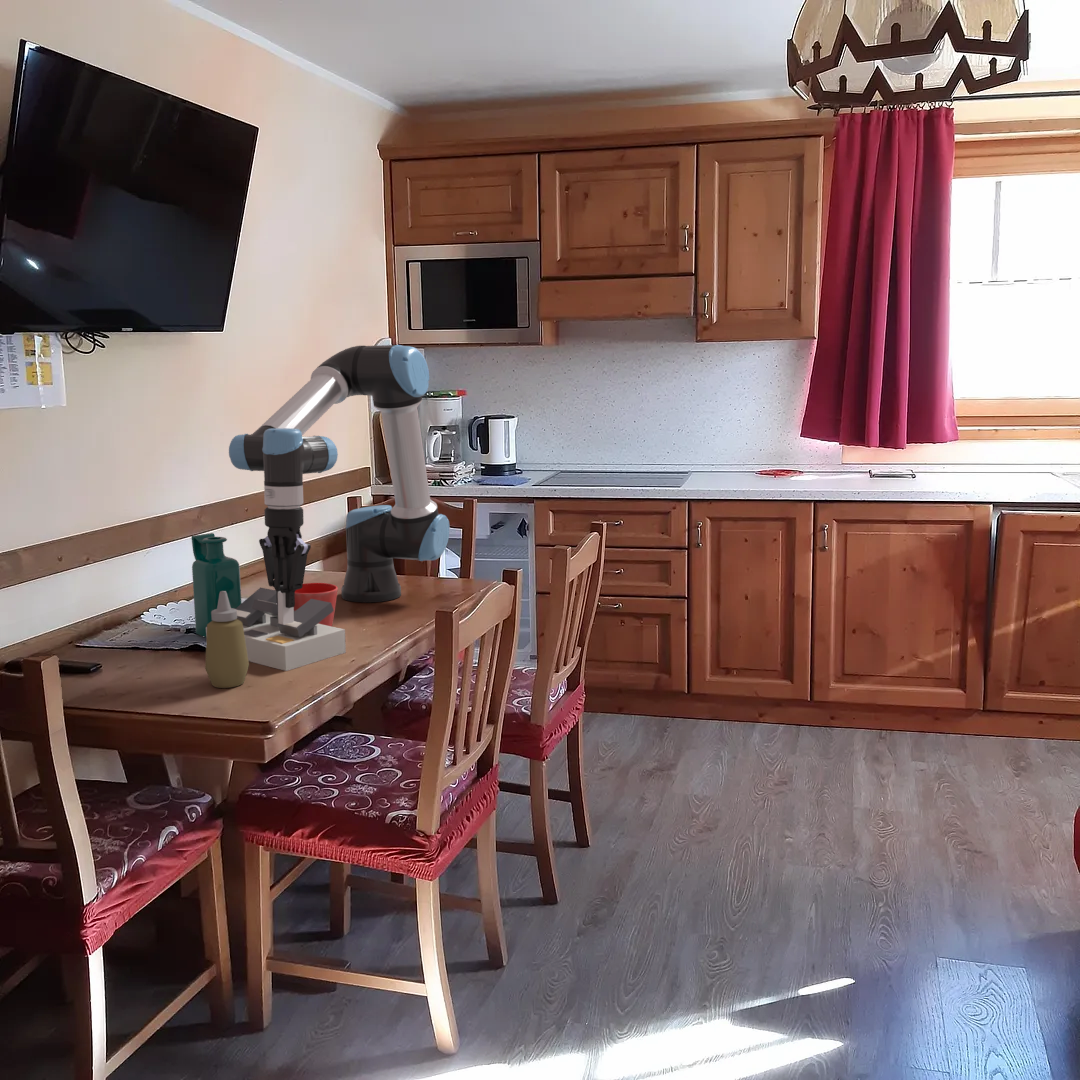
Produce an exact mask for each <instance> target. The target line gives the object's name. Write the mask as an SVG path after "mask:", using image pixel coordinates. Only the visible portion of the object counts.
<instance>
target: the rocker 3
mask: <svg viewBox="0 0 1080 1080" xmlns="http://www.w3.org/2000/svg"><path fill="white" fill-rule="evenodd" d="M333 611H334V609H333V607H332V604H331V603H330V602H325V601H320V600H315V599H310V600H309V601H308V602H306V603H305V604H304V605H302V606H301V607H300V608H298V609H297V610H296V611H295V612H294V622H292V623H288V624H277V625H278V628H279V631H280V633H283V634H288V635H292V636H296V637H301V636H303V635H304V634H305V633H306V632H308V631H309V630H310V629H312V628H313V627H314V626H315V625H317V624H318V623H319V622H320V621H322V620H323V619H324V618H325V617H327V616H328V615H329V614H331V613H332V612H333Z"/></svg>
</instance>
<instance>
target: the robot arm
mask: <svg viewBox="0 0 1080 1080" xmlns="http://www.w3.org/2000/svg"><path fill="white" fill-rule="evenodd" d="M427 363H428V362H427V361H426V358H425V357H424V355H423V353H422V352H420V351H419V349H418V348H417V347H415V346H414V347H413V346H409V345H401V344H395V345H394V344H392V345H391V344H387V345H385V344H384V345H356V346H351V347H348V348H345V349H342V350H341V351H339V352H337V353H335V354H334V355H332V356H330V357H328V359H326V360H324V361H323V362H322V363H320V364H319V365H317V367H316V368H315V369H313V371H312V372H311V375H310V380H309V381H307V382H306V384H304V385H303V386H302V387H301V388H300V389H299V390H298V391H296V393H295V394H293V395H292V397H290V398H289V399H288V400H287V401H286V402H285V403H284V404H283V405H282V406H281V407H279V408H278V409H277V411H275V412H274V413H273V414H272V415H271V416H270V417H269V418H267V420H266V421H264V422H263V423H262V424H261V426H259V427H258V428H257V429H256V430H255V431H254V432H253V433H251V434H248V433H244V434H238V435H235V436H234V437H233V438H232V439H231V441H230V443H229V446H228V456H229V458H230V462H231V464H232V465H233V466H234V468H236V469H238V470H241V471H242V470H243V471H250V472H255V471H256V472H258V471H259V472H263V478H264V480H263V485H264V486H263V490H264V492H263V493H264V495H263V496H264V497H263V498H264V505H265V506H267V507H265V508H264V525H265V526H266V527H267V528H268V530H267V532H266V533H267V535H266V536H265V537H264V538H259V540H258V543H259V545H260V548H261V550H262V555H263V560H264V565H265V572H266V576H267V583H268V586H269V587H272V588H274V590H276V596H277V603H276V604H277V606H278V623H279V624H288V623H292V622H294V606H295V591H296V590H298V589H301V588H302V587H303V584H304V579H305V572H306V566H307V559H308V555H309V552H310V550H311V548H312V547H311V544H310V543H306V542H305V541H304V540H303V539H302V538H303V537H302V536H303V535H302V533H301V528H302V526H303V525H304V523H305V522H304V509H303V507H302V505H304V485H303V483H304V481H303V480H304V478H303V475H305V474H306V475H307V474H308V475H309V474H315V473H317V474H321V473H324V472H326V471H329V470H332V469H333V467H334V466H335V465H336V463H337V461H338V457H339V456H338V455H339V454H338V448H337V445H336V444H335V442H334V441H333V440H332V439H331V438H329V437H327V436H323V435H322V436H321V435H312V436H303V435H304V434H305V433H306V432H308V430H310V428H311V427H312V426H314V425H315V424H316V423H317V421H319V419H321V418H322V416H323V415H324V414H325V413H326V412H327V411H328V410H329V409H331V407H333V405H336V404H338V405H339V404H340V403H343V401H345V400H346V399H347V398H349V397H354V396H371V397H372V402H373V403H372V404H373V407H374V408H375V409H377V410H378V411H380V413H381V418H382V425H383V430H384V431H383V432H384V438H385V444H386V451H387V457H388V463H389V470H390V471H389V472H390V476H391V483H392V484H391V485H392V489H393V495H394V502H395V504H394V506H392V505H390V504H380V505H373V506H366V507H360V508H359V507H358V508H355V509H352V510H351V509H350V511H349V512H347V514H346V517H345V518H346V519H345V520H346V521H345V532H346V533H345V534H346V535H345V536H346V557H347V560H346V561H347V569H346V572H345V576H344V579H343V580H344V581H343V584H342V586H341V592H340V593H341V598H342V599H343V600H345V601H349V602H356V603H378V602H380V603H381V602H387V601H391V600H395V599H398V598H400V597H401V596H402V586H401V584H400V583H399V579H398V576H397V573H396V569H395V566H394V559H402V560H413V561H415V560H416V561H420V562H423V561H436V560H438V559H439V558H440V557H441V556H443V554H444V553H445V550H446V548H447V545H448V542H449V540H450V539H449V538H450V527H451V526H450V521H449V519H448V517H447V516H446V515H445V514H442V513H439V509H438V504H437V502H436V501H433V500H432V499H431V496H430V489H429V488H430V486H429V482H428V475H427V468H426V461H425V453H424V446H423V439H422V437H423V436H422V433H421V432H422V431H421V424H420V423H421V422H420V416H419V411H418V407H419V406H420V404H421V403H422V402H423V401H424V400H423V396H424V395H425V394H426V393H427V392H428V389H429V387H430V384H429V381H430V372H429V367H428V364H427Z"/></svg>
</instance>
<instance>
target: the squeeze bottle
mask: <svg viewBox="0 0 1080 1080" xmlns="http://www.w3.org/2000/svg"><path fill="white" fill-rule="evenodd" d="M211 615H212V620H213V621H211V622H210V623H209V624H207V639H206V638H205V639H206V643H205V645H206V646H205V659H204V660H205V662H204V664H205V665H204V670H205V671H206V674H207V677H208V678H209V681H210V683H211V685H212V686H213V687H215V688H220V689H221V688H222V689H226V688H227V689H228V688H235V687H238V686H240V685H243V684H244V683H245V680H246V676H247V672H248V670H249V666H250V663H249V662H250V661H248V655H247V649H246V642H245V636H244V630H243V623H242V622H241V621H240V620H238V619H237V610H236V609H234V608H231V606H230V603H229V599H228V596H227V592H226V591H220V594H219V600H218V606H217V609H215V610H213V611H211Z"/></svg>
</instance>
